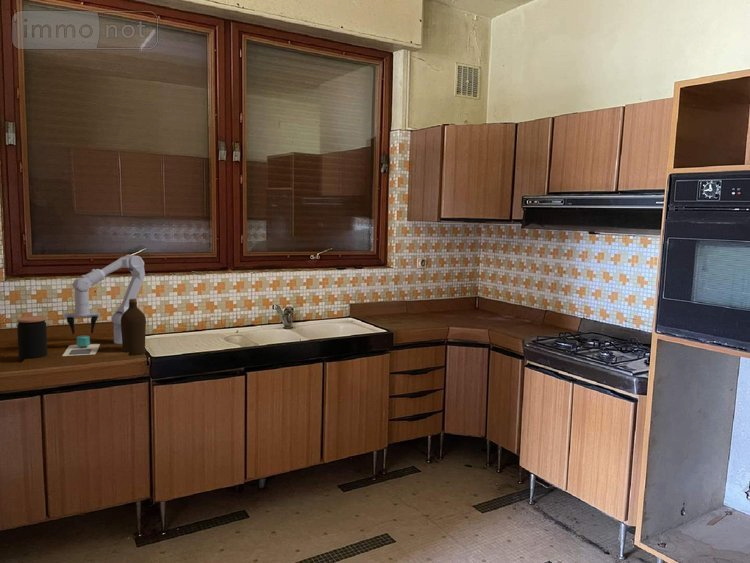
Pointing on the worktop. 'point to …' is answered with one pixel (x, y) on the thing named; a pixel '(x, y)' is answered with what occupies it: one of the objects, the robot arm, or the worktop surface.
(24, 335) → the coffee jar
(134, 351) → the olive oil
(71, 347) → the board
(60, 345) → the worktop surface
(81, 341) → the cap
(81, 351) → the pad
